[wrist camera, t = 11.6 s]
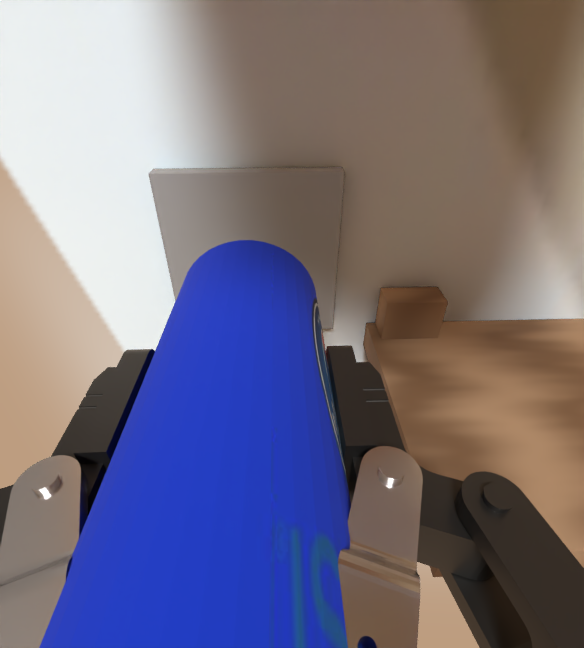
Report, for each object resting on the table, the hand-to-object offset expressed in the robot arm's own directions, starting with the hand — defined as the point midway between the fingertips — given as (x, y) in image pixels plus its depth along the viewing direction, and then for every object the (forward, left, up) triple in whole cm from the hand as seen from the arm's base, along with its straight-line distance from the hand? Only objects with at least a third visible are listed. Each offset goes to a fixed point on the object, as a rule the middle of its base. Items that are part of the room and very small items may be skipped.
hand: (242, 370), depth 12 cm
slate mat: (0, 0, -8) cm, 8 cm away
